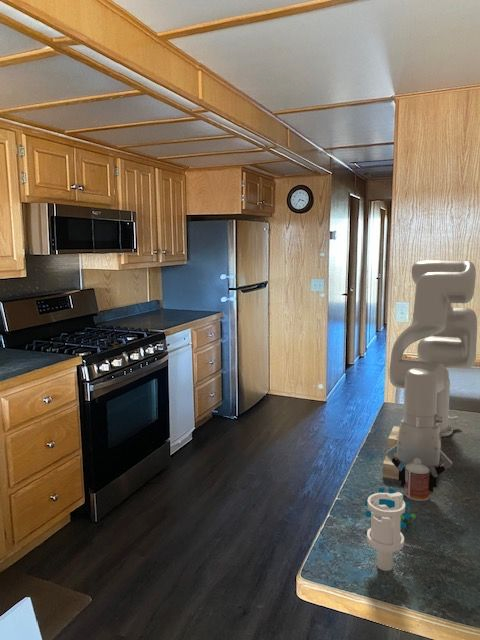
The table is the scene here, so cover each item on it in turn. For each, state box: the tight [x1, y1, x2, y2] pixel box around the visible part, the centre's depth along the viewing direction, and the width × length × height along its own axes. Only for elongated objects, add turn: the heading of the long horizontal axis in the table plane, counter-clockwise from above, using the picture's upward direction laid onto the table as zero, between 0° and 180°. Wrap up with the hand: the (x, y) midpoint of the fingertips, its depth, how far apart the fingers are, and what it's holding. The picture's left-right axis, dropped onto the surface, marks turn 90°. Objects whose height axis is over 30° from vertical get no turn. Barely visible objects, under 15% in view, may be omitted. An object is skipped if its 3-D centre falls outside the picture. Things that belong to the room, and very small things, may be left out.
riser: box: [382, 425, 400, 481], centre depth 138 cm, size 18×12×8 cm, turn 154°
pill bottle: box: [403, 458, 431, 502], centre depth 123 cm, size 6×6×11 cm
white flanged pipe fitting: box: [366, 491, 406, 572], centre depth 97 cm, size 7×7×15 cm
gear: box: [364, 487, 417, 530], centre depth 112 cm, size 11×6×10 cm
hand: (417, 485), depth 123 cm, fingers closed on pill bottle, 6 cm apart
